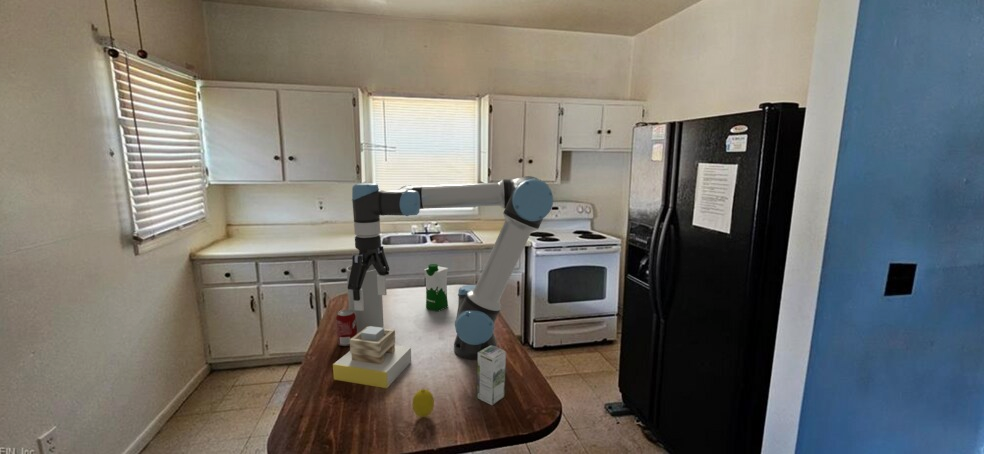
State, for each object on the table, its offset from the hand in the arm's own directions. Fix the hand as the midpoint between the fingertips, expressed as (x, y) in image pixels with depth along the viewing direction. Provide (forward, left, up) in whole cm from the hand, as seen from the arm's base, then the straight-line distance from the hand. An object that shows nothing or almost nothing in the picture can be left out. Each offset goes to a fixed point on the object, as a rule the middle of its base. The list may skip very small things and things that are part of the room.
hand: (371, 302), depth 130 cm
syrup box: (-40, +5, -23) cm, 46 cm away
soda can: (+19, -14, -23) cm, 33 cm away
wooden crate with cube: (0, 0, -18) cm, 18 cm away
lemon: (-25, +18, -23) cm, 39 cm away
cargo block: (0, 0, -13) cm, 13 cm away
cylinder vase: (+19, -27, -23) cm, 40 cm away
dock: (0, 0, -23) cm, 23 cm away
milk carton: (+1, -55, -23) cm, 59 cm away
